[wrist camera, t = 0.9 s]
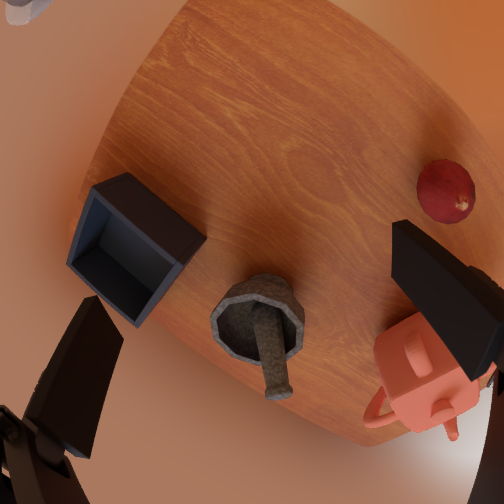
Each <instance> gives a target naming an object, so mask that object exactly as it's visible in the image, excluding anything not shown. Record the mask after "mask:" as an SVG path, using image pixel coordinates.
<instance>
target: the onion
mask: <svg viewBox="0 0 504 504" xmlns="http://www.w3.org/2000/svg"><path fill="white" fill-rule="evenodd" d="M417 195H418V200H419V202H420V204H421V206H422V208H423V210H424V212H425V213H426V214H427V215H429V216H430V217H431V218H432V219H433V220H435V221H437V222H441V223H445V224H453V223H458V222H460V221H462V220H463V219H465V218H466V217H467V216H468V215H469V214H470V212H471V211H472V209H473V206H474V203H475V199H476V198H475V185H474V183H473V181H472V179H471V177H470V175H469V173H468V171H467V170H465V169H464V168H463V167H462V166H461V165H460V164H458V163H456V162H453V161H450V160H447V159H444V160H437V161H432V162H431V163H430V164H428V165H427V166H425V167H424V169H423V170H422V172H421V174H420V175H419V178H418V183H417Z"/></svg>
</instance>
